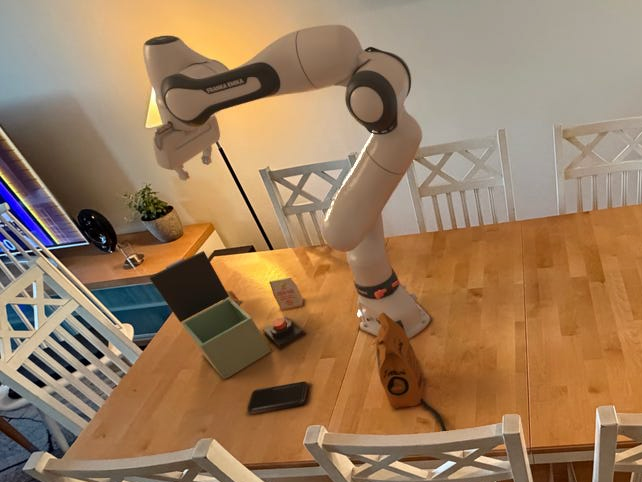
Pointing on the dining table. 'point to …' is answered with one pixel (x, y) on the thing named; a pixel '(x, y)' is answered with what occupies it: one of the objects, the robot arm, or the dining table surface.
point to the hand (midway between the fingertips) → (196, 171)
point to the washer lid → (189, 286)
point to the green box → (226, 337)
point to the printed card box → (286, 293)
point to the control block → (284, 333)
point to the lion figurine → (233, 297)
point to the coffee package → (397, 365)
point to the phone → (278, 397)
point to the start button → (279, 324)
